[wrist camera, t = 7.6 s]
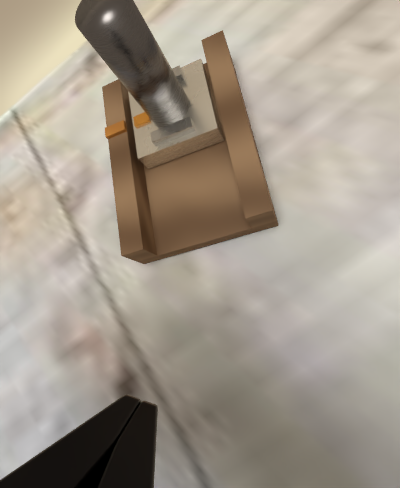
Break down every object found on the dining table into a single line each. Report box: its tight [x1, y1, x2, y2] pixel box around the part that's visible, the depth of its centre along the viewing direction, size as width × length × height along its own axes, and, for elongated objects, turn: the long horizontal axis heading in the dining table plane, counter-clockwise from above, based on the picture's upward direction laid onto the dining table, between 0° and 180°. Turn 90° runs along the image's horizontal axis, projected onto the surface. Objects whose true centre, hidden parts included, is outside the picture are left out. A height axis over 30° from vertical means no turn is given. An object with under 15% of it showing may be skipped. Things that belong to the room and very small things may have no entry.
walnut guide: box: [102, 30, 278, 264], centre depth 23 cm, size 14×10×3 cm
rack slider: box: [75, 0, 224, 169], centre depth 20 cm, size 6×6×10 cm
